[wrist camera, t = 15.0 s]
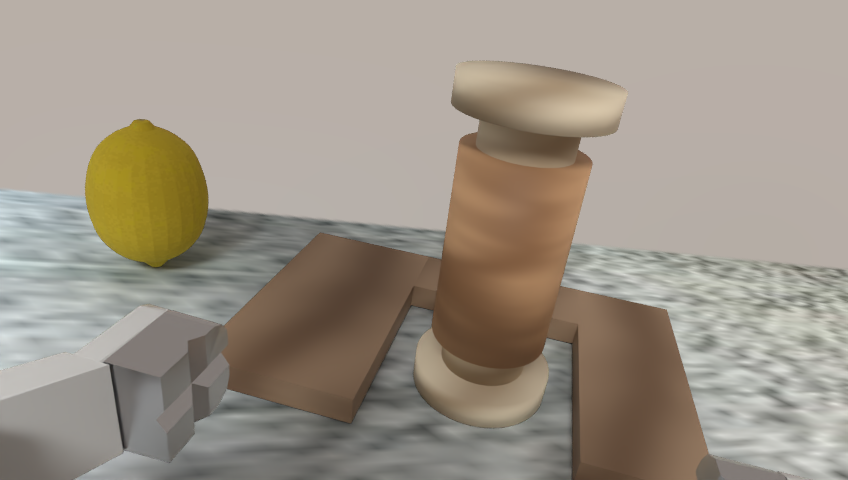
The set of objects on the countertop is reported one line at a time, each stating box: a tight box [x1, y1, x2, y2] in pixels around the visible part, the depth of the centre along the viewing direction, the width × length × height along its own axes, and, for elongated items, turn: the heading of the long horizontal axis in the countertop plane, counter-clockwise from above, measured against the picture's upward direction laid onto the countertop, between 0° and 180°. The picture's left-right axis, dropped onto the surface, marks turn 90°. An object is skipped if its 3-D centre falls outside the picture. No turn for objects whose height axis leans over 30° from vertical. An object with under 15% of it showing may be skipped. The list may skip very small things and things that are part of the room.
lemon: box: [85, 119, 208, 267], centre depth 28 cm, size 6×6×8 cm
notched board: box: [221, 233, 709, 480], centre depth 26 cm, size 20×12×1 cm, turn 76°
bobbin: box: [413, 61, 628, 428], centre depth 22 cm, size 6×6×13 cm
